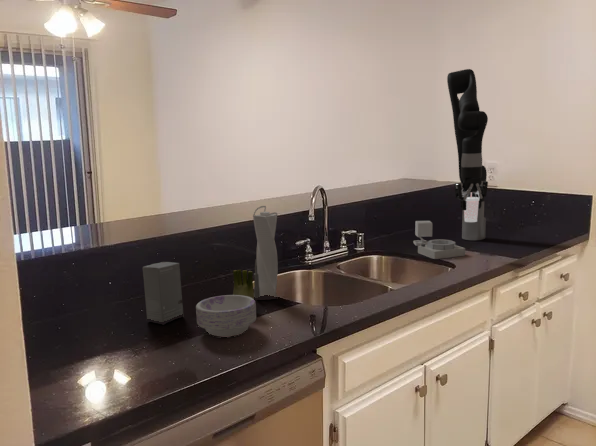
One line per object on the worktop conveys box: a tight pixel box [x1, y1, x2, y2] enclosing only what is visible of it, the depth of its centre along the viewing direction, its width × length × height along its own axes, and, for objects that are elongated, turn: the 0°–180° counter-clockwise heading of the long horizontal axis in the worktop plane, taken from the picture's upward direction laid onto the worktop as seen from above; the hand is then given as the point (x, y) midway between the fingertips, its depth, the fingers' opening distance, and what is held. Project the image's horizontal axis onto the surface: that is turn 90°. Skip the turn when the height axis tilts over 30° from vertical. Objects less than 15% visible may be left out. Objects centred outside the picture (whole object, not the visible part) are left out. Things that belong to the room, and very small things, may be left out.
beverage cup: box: [464, 192, 480, 222], centre depth 209 cm, size 6×6×14 cm
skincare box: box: [142, 261, 184, 322], centre depth 151 cm, size 8×7×16 cm
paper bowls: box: [195, 294, 257, 336], centre depth 141 cm, size 15×15×8 cm
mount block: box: [417, 238, 466, 260], centre depth 219 cm, size 14×12×5 cm
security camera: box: [413, 220, 433, 247], centre depth 239 cm, size 6×7×10 cm
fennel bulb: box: [232, 269, 254, 299], centre depth 157 cm, size 6×5×12 cm
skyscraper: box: [252, 205, 279, 298], centre depth 168 cm, size 8×8×28 cm
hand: (470, 209), depth 210 cm, fingers closed on beverage cup, 6 cm apart
